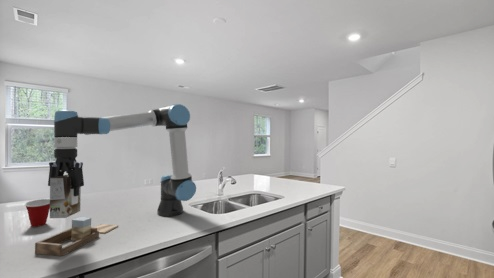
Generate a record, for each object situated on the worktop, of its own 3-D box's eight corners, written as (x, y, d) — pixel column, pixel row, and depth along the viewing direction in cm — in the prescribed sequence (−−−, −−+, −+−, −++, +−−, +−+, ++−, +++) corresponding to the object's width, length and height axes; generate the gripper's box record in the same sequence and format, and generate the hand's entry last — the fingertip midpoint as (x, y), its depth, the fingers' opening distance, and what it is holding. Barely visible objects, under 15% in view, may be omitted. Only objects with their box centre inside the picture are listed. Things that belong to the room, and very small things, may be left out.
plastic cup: (19, 230, 111) (20, 205, 111) (28, 223, 121) (29, 200, 121) (48, 226, 116) (49, 203, 116) (54, 220, 126) (55, 198, 126)
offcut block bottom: (90, 237, 104) (90, 231, 104) (82, 241, 100) (82, 234, 100) (79, 236, 105) (79, 230, 105) (71, 240, 101) (71, 233, 101)
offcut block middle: (91, 231, 104) (91, 224, 104) (83, 234, 100) (83, 227, 100) (79, 229, 105) (79, 223, 105) (71, 233, 101) (71, 226, 101)
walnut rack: (98, 236, 105) (99, 227, 105) (61, 256, 87) (61, 245, 87) (75, 234, 107) (76, 226, 107) (34, 253, 89) (35, 242, 89)
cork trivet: (118, 226, 118) (118, 225, 118) (104, 233, 109) (104, 232, 109) (100, 225, 119) (100, 224, 119) (86, 232, 110) (86, 230, 110)
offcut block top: (91, 224, 104) (91, 217, 104) (83, 227, 100) (83, 220, 100) (80, 223, 105) (80, 216, 105) (71, 226, 101) (71, 219, 101)
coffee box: (66, 218, 91) (66, 177, 91) (48, 218, 90) (49, 177, 90) (81, 211, 100) (81, 174, 100) (65, 211, 99) (65, 174, 99)
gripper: (35, 148, 93) (35, 204, 93) (79, 148, 90) (79, 207, 90) (53, 147, 100) (53, 200, 100) (95, 148, 97) (94, 202, 97)
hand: (65, 203), depth 95 cm, fingers closed on coffee box, 7 cm apart
